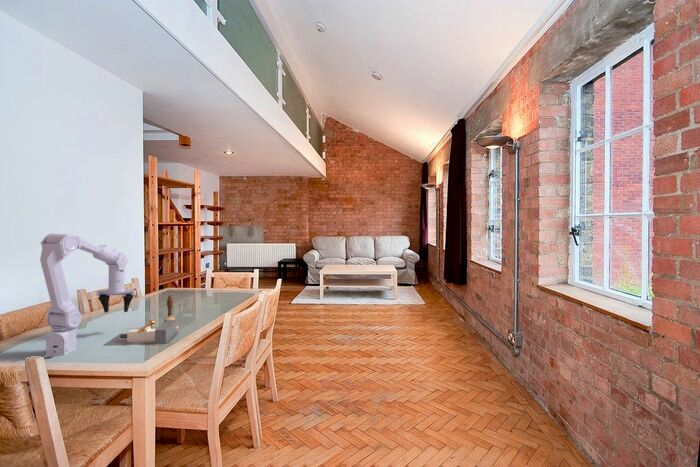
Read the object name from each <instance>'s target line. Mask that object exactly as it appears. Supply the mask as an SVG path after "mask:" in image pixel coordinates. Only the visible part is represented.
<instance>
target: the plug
mask: <svg viewBox="0 0 700 467" xmlns="http://www.w3.org/2000/svg"><path fill="white" fill-rule="evenodd" d="M139 329H140V328H131V329H130V330H128V331H127V332H126V333H120V334H121V336H120V338H127V343H128V342H155V330H156V329H157V328H154V329H151V326H148V327H147V328H145V329H144V330H143V331H142V332H141V333H138V330H139Z"/></svg>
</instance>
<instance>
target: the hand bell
mask: <svg viewBox="0 0 700 467" xmlns="http://www.w3.org/2000/svg"><path fill="white" fill-rule="evenodd" d="M166 305H167V306H166V307H167V317H165V318H164V321H163V323H165V322H166V321H167V320H176V318H175V317H174V316H173V307H174V306H173V305H174V299H173V296H172V294H169V295H168V296H167V300H166ZM178 329H179V326H178V325H177V330H178Z"/></svg>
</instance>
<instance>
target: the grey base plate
mask: <svg viewBox="0 0 700 467" xmlns="http://www.w3.org/2000/svg"><path fill="white" fill-rule="evenodd" d="M150 326H151V329H156V330H155V342H128V343H127V338H120V336H121V334H122V333H119V334H117V335H115V337H113V338H111V339H110V340H108V341H107V342H105V343H104V344H103V345H102V347H104V346H106V347H107V346H109V347H110V346H138V345H139V346H140V345H167V344H170V343H171V342H172V341H173V340H174V339H175V338H176V337H177V335H179V334H180V332H179V331H178V329H177V326H178V320H176V319H175V320H167V321H166V322H165V323H164V322H163V323H162V324H161V325H160V326H158V327H157V328H155V323H154V324H151V325H150Z"/></svg>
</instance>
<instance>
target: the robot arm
mask: <svg viewBox="0 0 700 467" xmlns="http://www.w3.org/2000/svg"><path fill="white" fill-rule="evenodd" d="M40 245H41V253H40V256H39V257H40V258H39V259H40V264H41V268H42V269H41V270H42V271H43V272H42V273H43V276H44V280H45V281H44V282H45V285H46V288H47V292H48V295H49V296H48V297H49V300H50V304H51V306H50V307H48V309H47V310H46V313H47V316H46V323H47V325H48V326H49V327H50V330H51V333H50V334H49V335H48V337H47V338H46V340H45V345H46V346H45V348H46V350H45V351H46V353H45V355H43V358H53V357H56V356H57V357H58V356H59V357H60V356H66V355H67V354H69V353H71V352H74V351H76V350H77V337H78V335H77V330H78V328H79V326H80V325H81V323H82V320H83V317H82V313H81V312H80V311H79V310H78V307H77V305H75V304H74V303H73V302H72V301H71V299H70V295H69V294H70V293H69V290H68V285H67V282H66V278H65V273H64V270H63V265H62V261H63V260H64V259H65V258H66V257H68V256H69V255H71V254H72V253H73V252H74V251H76V250H77V249H78V250H81V251H83V252H87V253H90V254H91V255H92V257H93V258H94V259H96V260H98V261H101V262H104V263H105V265H107V266H108V289H104V290H103V289H102V290H101V289H100V290H97V291H96V296H97V298H98V300H99V302H100V303H101V305H102V307H103V308H102V309H103V312H104V313H105V314H106V313H108V312H109V309H110V308H109V302H110V297H111V296H122V298H123V313H127V312H128V311H129V308H130V304H131V302H132V300H133V298H134V296H135V295H137V291H136V289H125V270H126V266H127V264H128V261H129V258H128V257H127V255H126V253H124V252H118V251H117V250H116V249H111V248H110V247H109V246H108V245H106V244H102V245H101V244H100V245H95V244H94V243H91V242H89V241H88V240H86V239H83V238H82V237H81V236H78V235H75V234H74V233H73V234H72V233H70V234H65V233H48V234H46V236H45V237H44V238H43V239H42V240H41V241H40Z"/></svg>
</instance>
